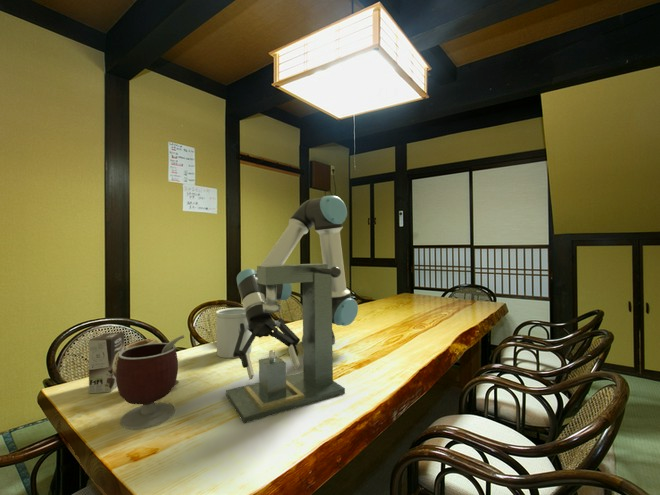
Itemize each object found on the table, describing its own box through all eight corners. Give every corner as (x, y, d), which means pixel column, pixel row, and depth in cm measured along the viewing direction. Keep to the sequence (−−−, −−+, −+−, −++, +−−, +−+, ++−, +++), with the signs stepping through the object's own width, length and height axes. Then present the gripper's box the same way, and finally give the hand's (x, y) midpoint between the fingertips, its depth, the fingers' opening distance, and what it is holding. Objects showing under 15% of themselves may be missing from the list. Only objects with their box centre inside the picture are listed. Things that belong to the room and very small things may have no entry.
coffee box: (111, 392, 97) (111, 339, 97) (88, 394, 96) (87, 340, 96) (125, 380, 106) (125, 331, 106) (104, 381, 105) (103, 332, 105)
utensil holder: (251, 345, 143) (251, 306, 143) (254, 356, 129) (254, 312, 129) (216, 349, 138) (216, 308, 138) (215, 360, 124) (215, 315, 124)
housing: (276, 386, 97) (276, 346, 97) (286, 394, 91) (285, 352, 91) (259, 390, 94) (258, 349, 94) (267, 399, 88) (267, 356, 88)
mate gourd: (110, 437, 74) (109, 350, 74) (122, 409, 87) (121, 335, 87) (184, 421, 80) (183, 341, 80) (185, 398, 93) (184, 329, 93)
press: (315, 373, 110) (313, 262, 110) (361, 404, 88) (359, 265, 88) (225, 395, 94) (224, 266, 94) (254, 439, 72) (252, 270, 72)
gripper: (289, 312, 112) (310, 369, 99) (215, 322, 99) (228, 388, 86) (295, 299, 108) (318, 356, 95) (218, 307, 94) (233, 375, 82)
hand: (275, 371), depth 90 cm, fingers open, 13 cm apart
